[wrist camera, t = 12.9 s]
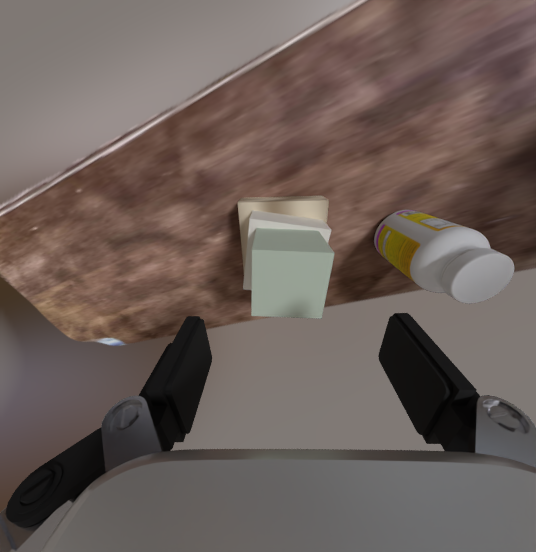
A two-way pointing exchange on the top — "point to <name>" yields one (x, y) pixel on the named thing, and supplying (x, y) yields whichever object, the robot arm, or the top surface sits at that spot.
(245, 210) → the tower base block
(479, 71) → the top surface
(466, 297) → the supplement bottle
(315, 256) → the stack block
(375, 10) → the top surface
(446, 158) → the top surface
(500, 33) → the top surface
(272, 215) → the tower top block
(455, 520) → the robot arm
